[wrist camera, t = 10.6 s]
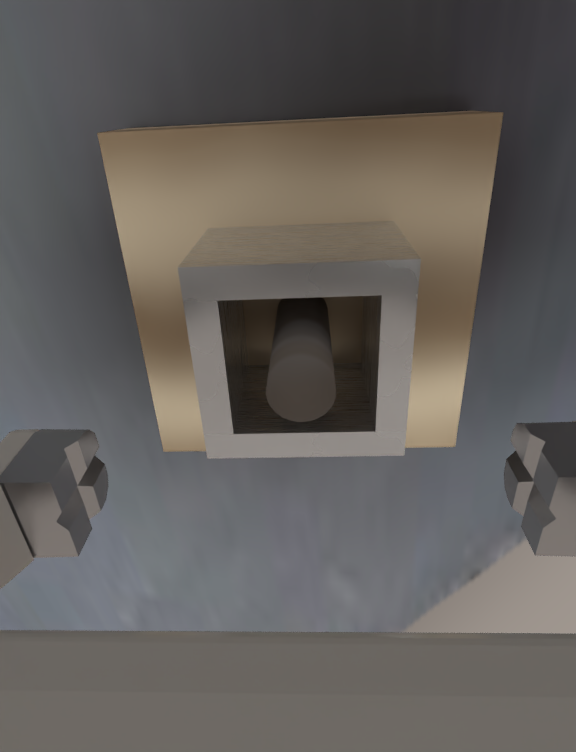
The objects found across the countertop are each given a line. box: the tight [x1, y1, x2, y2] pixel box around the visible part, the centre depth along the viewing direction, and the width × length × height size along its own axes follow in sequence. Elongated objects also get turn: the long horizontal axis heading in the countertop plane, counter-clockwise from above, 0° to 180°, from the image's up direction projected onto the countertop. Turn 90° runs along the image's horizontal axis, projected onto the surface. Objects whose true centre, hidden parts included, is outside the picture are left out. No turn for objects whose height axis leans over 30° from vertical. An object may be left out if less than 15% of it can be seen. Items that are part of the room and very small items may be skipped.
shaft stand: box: [97, 111, 503, 452], centre depth 16 cm, size 12×12×8 cm
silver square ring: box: [178, 221, 421, 459], centre depth 16 cm, size 6×6×4 cm
